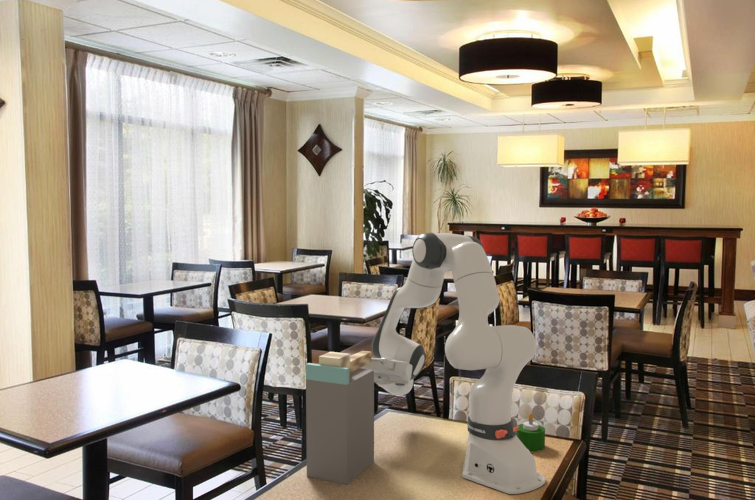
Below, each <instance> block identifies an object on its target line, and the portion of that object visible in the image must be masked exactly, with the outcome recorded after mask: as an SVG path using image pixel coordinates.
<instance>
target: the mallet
mask: <svg viewBox="0 0 755 500" xmlns="http://www.w3.org/2000/svg"><path fill="white" fill-rule="evenodd" d="M350 355H352V356H350ZM371 358H372V351H368V350H360V351H359V352H357V353H354V354H351V353H345V352H337V351H336V352H335V351H329V352H326V353H324V354H322V355H319V356H318V364H322V365H330V366H338V367H346V368H349V376H350V373H351V372H353V371H355V370H357V369H359V368H361V367H363V366H364V365H366V364H368V363H370V362H371Z"/></svg>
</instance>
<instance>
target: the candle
mask: <svg viewBox="0 0 755 500" xmlns="http://www.w3.org/2000/svg"><path fill="white" fill-rule="evenodd" d="M527 419H528V421H524V422H523V423H519V424H517V425H516V426H519V427H518V428H517V429H519V430H517V431H516V436H517V437H518V438H519V440H520V441H521V442H522V443H523V444H524V446H525V447H526V448H527V449H528V450H529V451H530V453H531V452H533V453H536V452H541V451H543V450H545V447H546V445H545V444H546V428H545V427H544V426H542V425H539V424H538V422H535V421H533V420H534V415H533V413H529V414H528V417H527Z"/></svg>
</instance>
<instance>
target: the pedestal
mask: <svg viewBox="0 0 755 500" xmlns="http://www.w3.org/2000/svg"><path fill="white" fill-rule="evenodd" d="M305 413H306V414H305V415H306V416H305V423H306V425H305V426H306V427H305V431H306V432H305V433H306V434H305V435H306V437H305V438H306V477H310V478H313V479H314V478H315V479H319V480H322V481H323V480H324V481H328V482H333V483H338V484H343V485H348V484H349V483H351V482H352V481H353V480H354V479H356V478H357V477H358V476H359V475H361V473H363V472H364V471H365V470H367V468H369V467H370V466H372V464H374V462H375V382H374V370H370V369H362V368H359V369H357V370H355V371H353V372H351V373H350V376H349V368H346V367H338V366H330V365H322V364H319V363H312V362H308V363H305Z"/></svg>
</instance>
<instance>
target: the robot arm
mask: <svg viewBox="0 0 755 500" xmlns="http://www.w3.org/2000/svg"><path fill="white" fill-rule="evenodd" d="M411 250H412V252H411V253H412V257H413V259H412V260H411V261H412V262H411V264H410V268H409V270H408V274H407V278H406V281H405V283H404V284H403V285H402V286H400V287H398V288H396V290H395V291H394V292H393V294H392V296H391V299H390V300H389V303H388V305H387V308H386V310H385V312H384V315H383V317H382V320H381V322H380V325H379V327H378V329H377V331H376V333H375V335H374V336H373V338H372V340H371V346H370V347H371V350H372V351H371V352H372V353H373V355H374V357H371V362H370V363H368V364H366V365H364V366H363V367H361V368H362V369H370V370H374V384H376V385H377V386H378V387H381V388H382V389H384V390H385V391H386V392H387V393H389V394H391V395H394V396H399V397H400V396H401V397H402V396H405V395H407V394H409V393H410V391H411V390H412V389H413V386H414V379H416V378H417V377H418V376H419V374H420V373H421V371H422V370H423V368H424V366H425V364H426V361H427V360H426V351H425V348H424V346H423V345H422V344H420V343H418V342H415V341H414V340H412V339H410V338H408V337H405V336H403V335H401V334H399V333H398V332H397V327H398V323H399V320H400V318H401V316H402V313H403V312H404V309H422V308H427V307H430V306H432V305H433V304H435V303H436V302H437V301H438V299H439V297H440V295H441V293H442V288H443V284H444V280H445V275H446V272H451V273H452V278H453V279H452V280H453V283H454V288H455V292H456V296H457V302H458V308H459V309H458V310H459V311H458V312H459V313H458V314H459V315H458V321H457V323H456V326H455V328H454V329H453V331H452V332H450V334H449V335H448V336H447V339H446V340H445V343H444V355H445V357H446V359H447V361H448V362H449V364H450V365H451V366H452V367H453V368H454V369H457V370H466V371H477V370H485V371H484V374H483V375H482V376H481V377H480V379H478V380H476V381H475V382H474V383H473V385H472V386H471V387H470V391H469V402H470V415H469V414H468V417H467V432H468V439H467V442H466V443H467V444H466V451H465V452H466V453H465V458H464V462H463V464H462V475H461V476H462V478H463V479H466V480H469V481H471V482H474V483H477V484H480V485H483V486H486V487H489V488H492V489H494V490H497V491H499V492H502V493H504V494H510V495H517V494H523V493H528V492H531V491H534V490H536V489H538V488H541V487H542V486H543V485H545V484H546V481H547V480H546V476H544V475H543V474H541V473H540V472H538V471H537V464H536V458H535V456H534V455H533V454H532V453H531V452H530V451H529V450H528V449H527V448H526V447H525V446H524V444H523V443H522V442H521V441H520V440H519V438H518V437H517V436H516V431H517V430H519V429H517V428H518V427H519V426H517V425H516V426H515V424H514V420H513V418H512V404H513V393H514V388H515V385H516V382H517V380H518V377H519V376H520V373H521V372H522V370H523V368H524V367H525V366H526V365H527V364H528V363H529V362H531V360H533V358H534V356H535V355H536V352H537V341H536V338H535V335H534V334H533V332H532V331H531V330H530V329H529V328H528V327H526V326H520V325H516V324H515V325H514V324H506V325H505V324H504V325H491V326H490V324H489V321H488V320H489V319H488V317H489V315H490V314H492V313H493V312H494V311H495V310H496V309H497V308H498V307H499V304H500V294H499V290H498V288H497V283H496V278H495V275H494V271H493V269H492V266H491V263H490V261H489V258H488V256H487V253H486V251H485V249H484V245H483V244H482V241H481V240H479V238H477V237H474V236H472V235H467V234H466V235H463V234H457V233H451V232H436V233H434V232H425V233H422V234H420V235H418V236H417V237H416V238H415V240H414V242H413V245H412V249H411ZM352 355H353V354H350V356H352Z"/></svg>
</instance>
